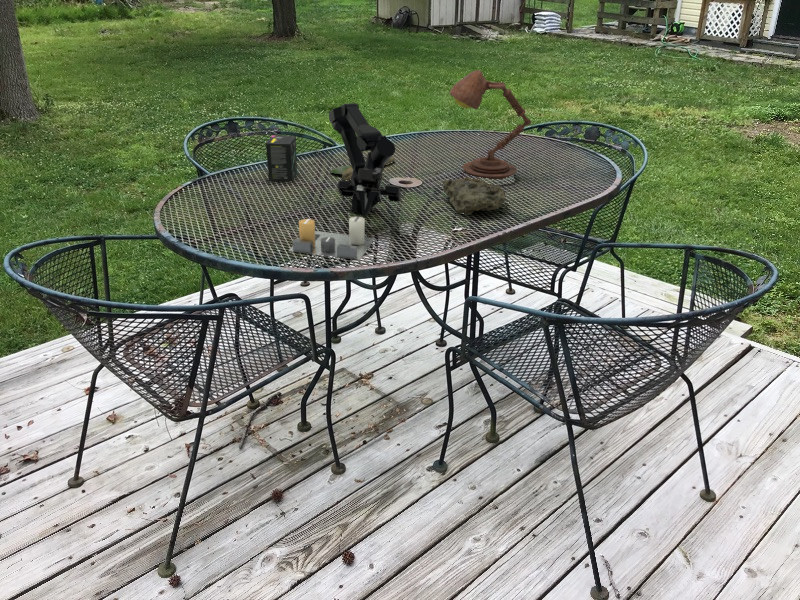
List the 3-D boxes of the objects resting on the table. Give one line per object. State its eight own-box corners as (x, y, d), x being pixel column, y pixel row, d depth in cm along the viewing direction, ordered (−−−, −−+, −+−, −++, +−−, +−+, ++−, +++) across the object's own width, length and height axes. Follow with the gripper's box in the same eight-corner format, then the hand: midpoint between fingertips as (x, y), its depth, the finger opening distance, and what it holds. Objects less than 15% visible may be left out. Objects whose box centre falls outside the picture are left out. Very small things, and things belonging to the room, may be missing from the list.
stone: (439, 196, 232) (440, 173, 228) (489, 193, 236) (492, 171, 232) (460, 221, 210) (462, 196, 206) (516, 217, 215) (519, 193, 211)
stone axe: (394, 152, 266) (396, 165, 239) (395, 164, 268) (397, 179, 241) (331, 157, 266) (326, 171, 239) (333, 169, 268) (328, 185, 240)
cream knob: (351, 238, 191) (351, 215, 188) (366, 239, 191) (366, 216, 187) (347, 243, 188) (347, 220, 184) (362, 245, 187) (362, 222, 183)
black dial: (323, 246, 186) (323, 235, 185) (337, 247, 186) (336, 237, 184) (319, 251, 183) (318, 241, 182) (332, 253, 182) (332, 242, 181)
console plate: (307, 233, 197) (307, 220, 195) (374, 241, 193) (374, 228, 191) (288, 254, 183) (287, 240, 181) (359, 263, 180) (359, 249, 178)
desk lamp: (438, 170, 258) (444, 65, 239) (514, 168, 264) (526, 65, 245) (451, 187, 240) (459, 75, 221) (533, 185, 246) (547, 74, 227)
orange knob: (303, 240, 189) (302, 217, 185) (317, 242, 188) (316, 219, 184) (297, 246, 185) (296, 223, 181) (312, 248, 184) (311, 224, 181)
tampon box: (274, 172, 250) (271, 134, 243) (297, 173, 250) (296, 135, 243) (267, 181, 240) (265, 142, 233) (292, 182, 240) (290, 143, 233)
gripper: (338, 153, 191) (327, 201, 187) (400, 159, 188) (390, 208, 184) (346, 172, 202) (336, 217, 198) (404, 177, 199) (396, 224, 194)
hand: (364, 216), depth 193 cm, fingers closed
